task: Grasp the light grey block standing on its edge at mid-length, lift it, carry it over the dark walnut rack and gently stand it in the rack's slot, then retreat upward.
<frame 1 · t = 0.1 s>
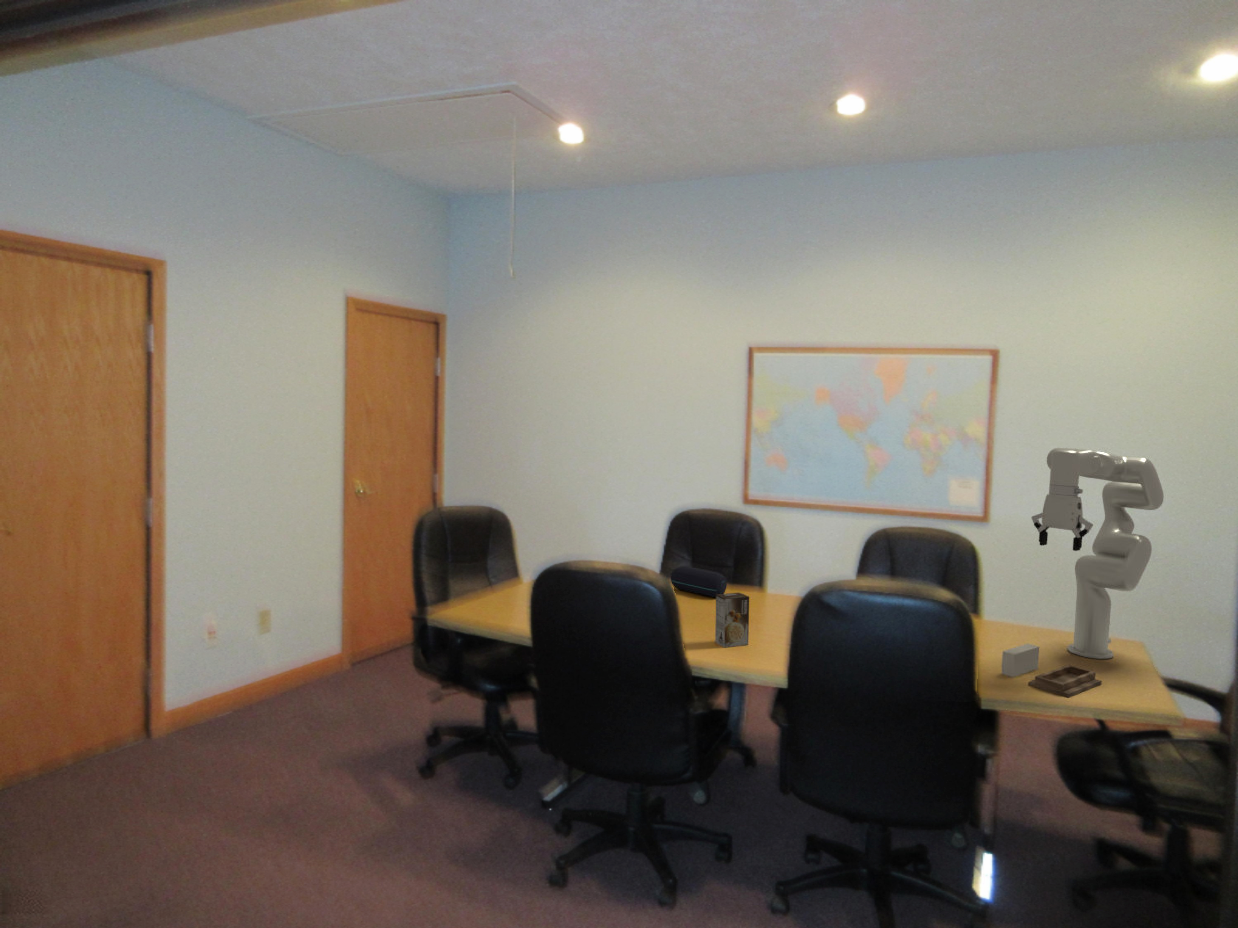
hand: (1059, 547, 234), 37 cm above the table, tool pointing down, fingers open, 9 cm apart
rack: (1065, 684, 222), on the table
portable speaker: (698, 593, 321), on the table
light grey block: (1019, 671, 233), on the table
coffee box: (731, 644, 254), on the table
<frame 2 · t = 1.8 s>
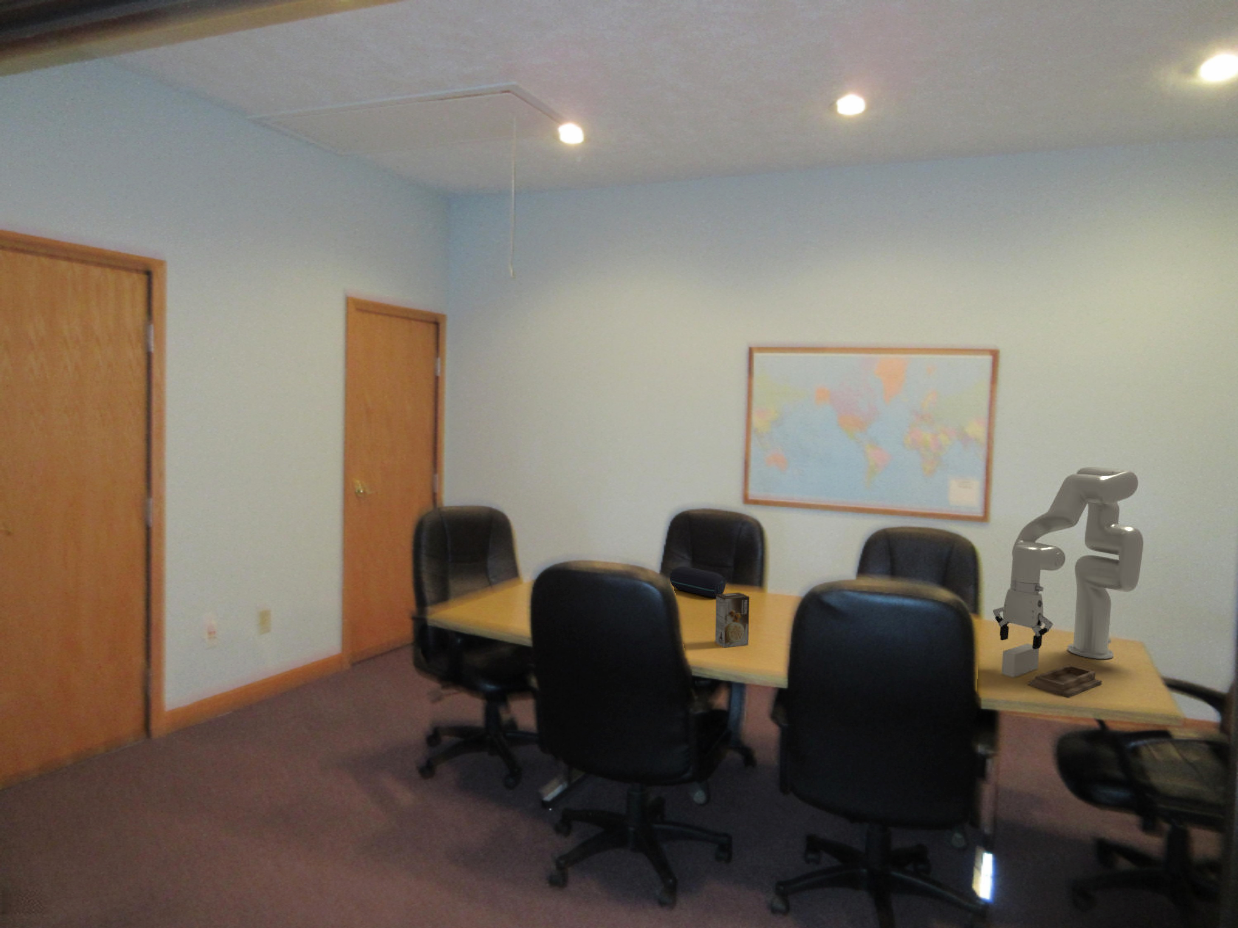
hand: (1019, 643, 231), 8 cm above the table, tool pointing down, fingers open, 9 cm apart
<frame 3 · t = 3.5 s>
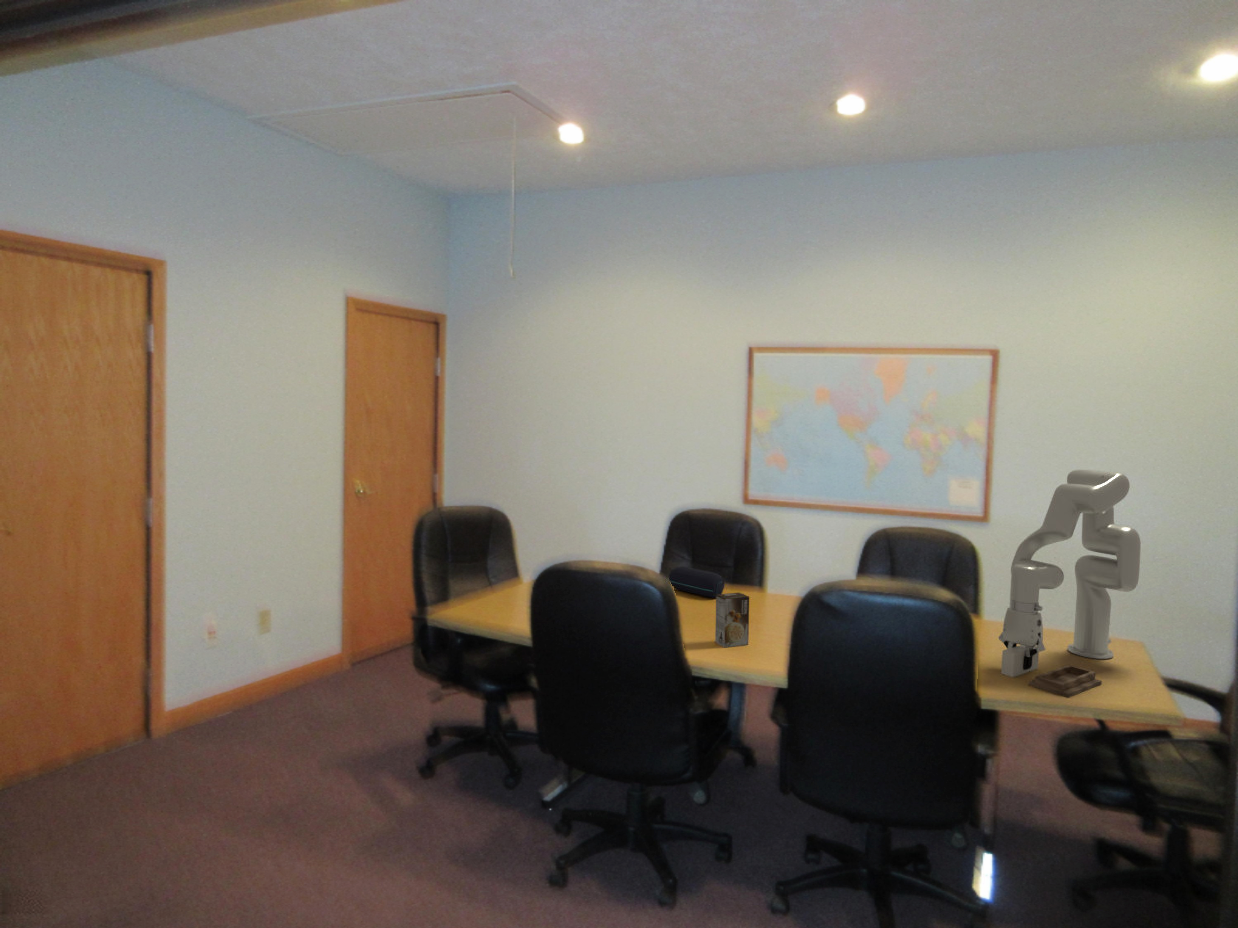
hand: (1019, 665, 232), 2 cm above the table, tool pointing down, fingers closed on light grey block, 3 cm apart
light grey block: (1019, 671, 233), on the table, touching gripper
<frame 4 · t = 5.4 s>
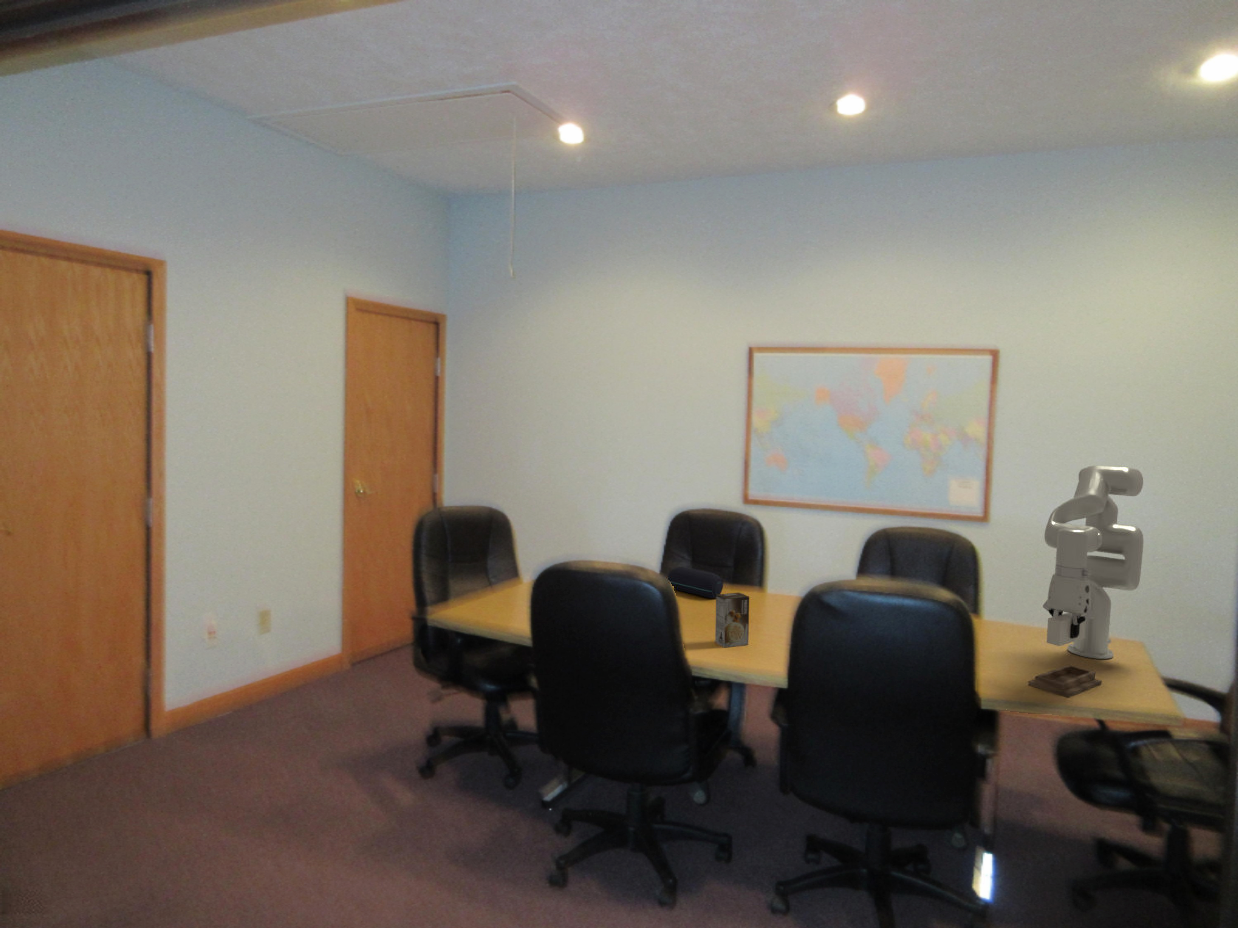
hand: (1066, 634, 221), 14 cm above the table, tool pointing down, fingers closed on light grey block, 3 cm apart
light grey block: (1065, 640, 221), point 13 cm above the table, touching gripper
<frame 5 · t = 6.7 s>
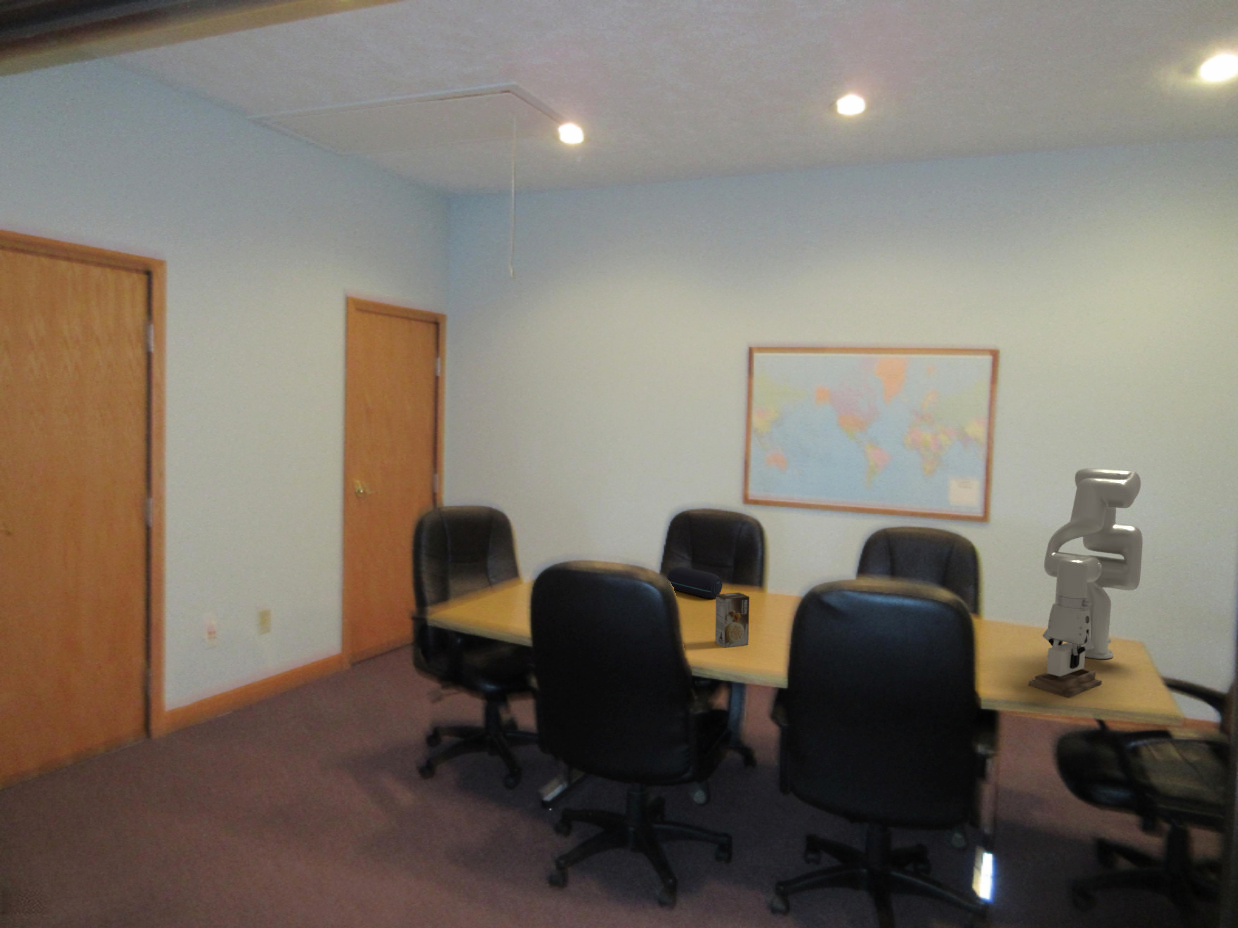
hand: (1066, 664, 221), 6 cm above the table, tool pointing down, fingers closed on light grey block, 3 cm apart
light grey block: (1065, 670, 221), point 4 cm above the table, touching gripper
when the fingers open (4 cm above the table, at t = 7.7 s): light grey block drops 1 cm, resting on rack.
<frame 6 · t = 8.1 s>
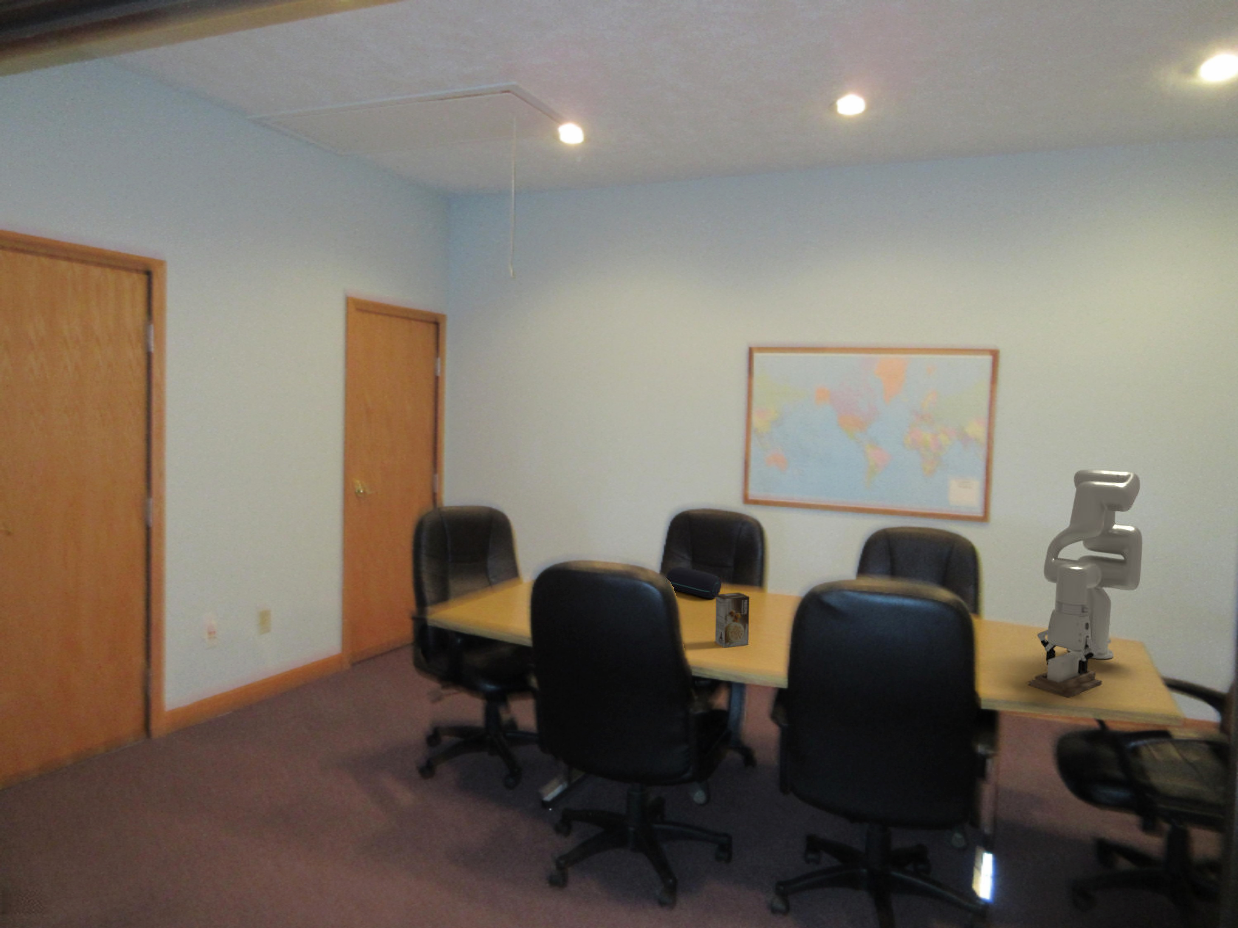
hand: (1066, 668, 222), 5 cm above the table, tool pointing down, fingers open, 8 cm apart
light grey block: (1065, 681, 222), point 1 cm above the table, touching rack
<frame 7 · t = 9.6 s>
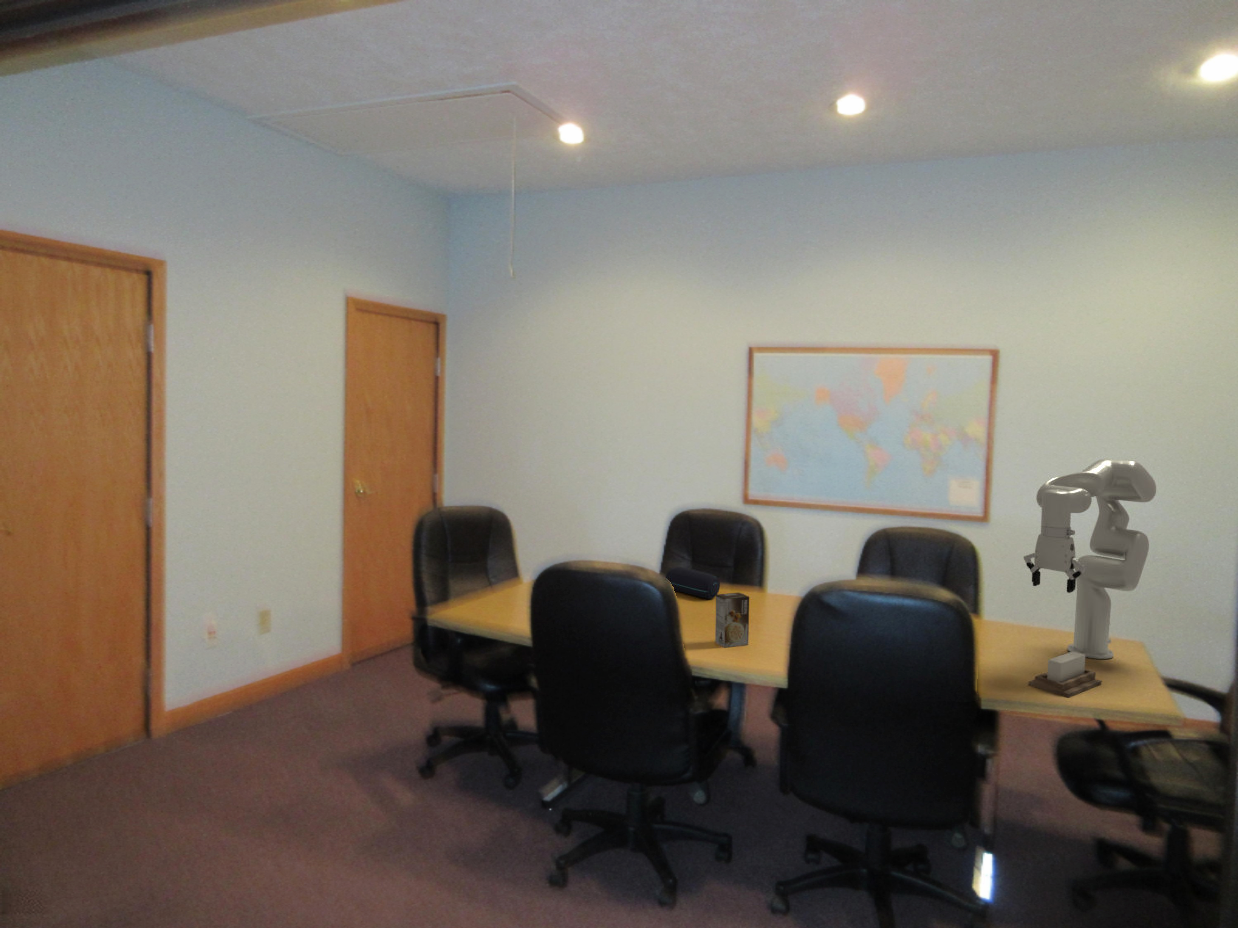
hand: (1053, 588, 231), 25 cm above the table, tool pointing down, fingers open, 9 cm apart
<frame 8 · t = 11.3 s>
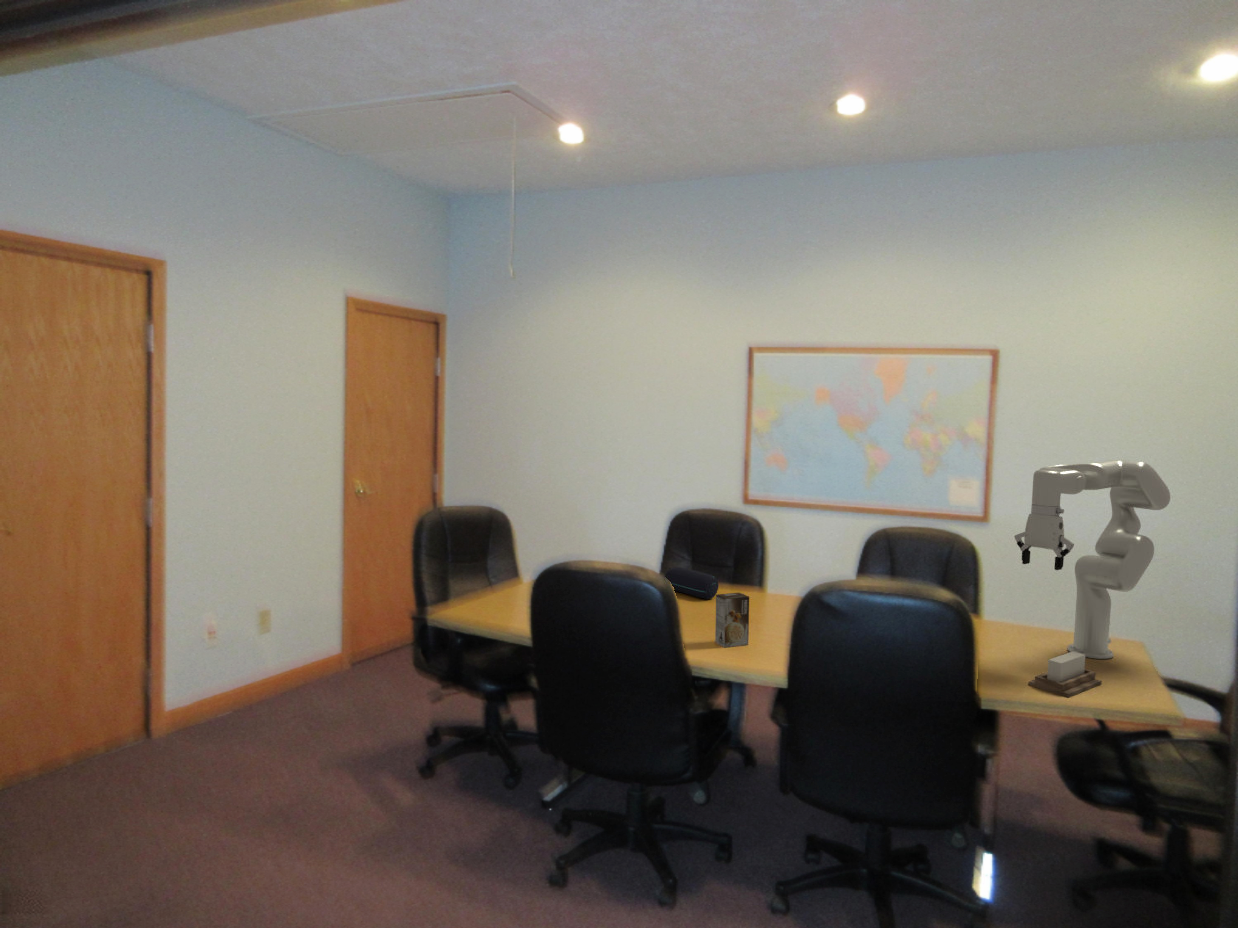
hand: (1041, 566, 237), 30 cm above the table, tool pointing down, fingers open, 9 cm apart
at the end: light grey block 0.1 cm off-centre on the rack, point 1.0 cm above the rack's base; light grey block tilted 0°; the gripper is holding nothing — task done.
